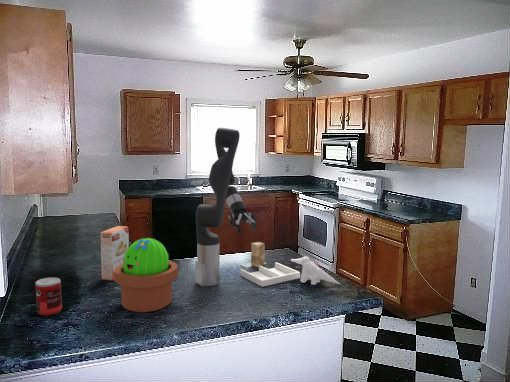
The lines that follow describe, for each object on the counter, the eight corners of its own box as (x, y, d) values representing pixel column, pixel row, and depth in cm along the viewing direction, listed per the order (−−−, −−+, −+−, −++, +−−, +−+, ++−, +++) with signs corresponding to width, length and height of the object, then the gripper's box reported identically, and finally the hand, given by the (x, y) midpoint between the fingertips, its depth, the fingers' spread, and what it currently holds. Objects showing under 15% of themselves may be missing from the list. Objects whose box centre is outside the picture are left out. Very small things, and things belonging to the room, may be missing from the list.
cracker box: (114, 281, 174) (112, 232, 172) (101, 280, 176) (99, 232, 173) (130, 270, 188) (129, 225, 185) (118, 269, 189) (116, 225, 187)
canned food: (42, 307, 147) (40, 277, 146) (65, 306, 148) (64, 277, 147) (32, 316, 140) (31, 285, 138) (57, 315, 140) (55, 284, 139)
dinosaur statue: (292, 274, 183) (295, 250, 181) (342, 291, 169) (346, 266, 167) (284, 278, 177) (287, 254, 175) (335, 297, 164) (339, 270, 162)
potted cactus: (147, 288, 167) (145, 227, 164) (189, 299, 156) (188, 234, 153) (102, 306, 148) (99, 238, 145) (147, 321, 137) (145, 247, 134)
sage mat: (254, 272, 188) (254, 271, 188) (240, 265, 198) (240, 264, 198) (275, 268, 195) (275, 267, 195) (261, 261, 204) (261, 260, 204)
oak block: (256, 268, 193) (256, 245, 191) (251, 265, 196) (251, 243, 195) (264, 266, 195) (264, 243, 194) (258, 264, 199) (259, 241, 198)
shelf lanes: (262, 289, 167) (262, 280, 167) (239, 277, 181) (240, 269, 181) (299, 280, 178) (300, 272, 178) (276, 269, 192) (276, 262, 192)
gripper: (226, 201, 203) (238, 228, 195) (250, 199, 211) (263, 225, 203) (221, 210, 208) (232, 237, 200) (245, 208, 216) (257, 233, 208)
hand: (248, 231), depth 202 cm, fingers open, 8 cm apart
